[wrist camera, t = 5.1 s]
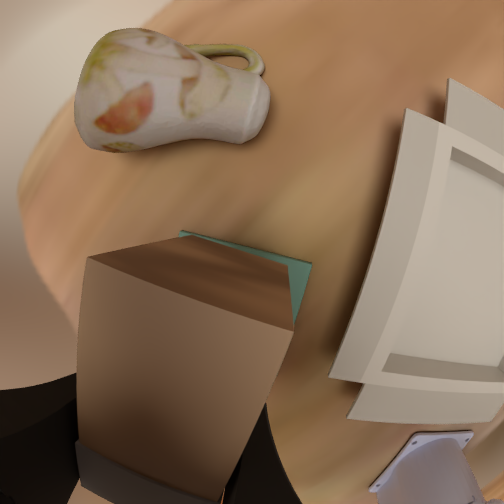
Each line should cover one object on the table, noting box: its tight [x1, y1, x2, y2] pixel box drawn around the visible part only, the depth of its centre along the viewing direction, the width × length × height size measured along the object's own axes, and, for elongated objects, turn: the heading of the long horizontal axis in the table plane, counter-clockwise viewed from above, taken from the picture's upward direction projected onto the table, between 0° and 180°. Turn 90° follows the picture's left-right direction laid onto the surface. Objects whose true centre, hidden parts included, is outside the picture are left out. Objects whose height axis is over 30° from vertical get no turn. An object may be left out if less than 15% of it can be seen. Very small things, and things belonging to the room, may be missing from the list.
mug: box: [74, 28, 271, 153], centre depth 14 cm, size 8×10×10 cm
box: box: [75, 235, 294, 504], centre depth 9 cm, size 4×8×7 cm, turn 163°
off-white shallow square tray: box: [328, 78, 504, 424], centre depth 14 cm, size 21×19×3 cm
